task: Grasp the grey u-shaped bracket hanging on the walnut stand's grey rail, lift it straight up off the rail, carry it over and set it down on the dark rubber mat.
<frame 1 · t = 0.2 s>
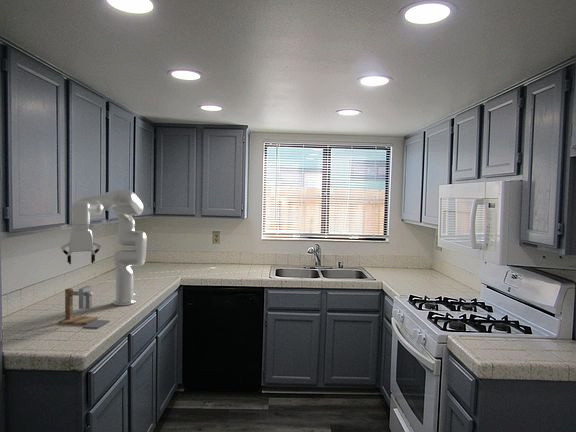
hand: (81, 263, 202), 30 cm above the worktop, tool pointing down, fingers open, 9 cm apart
grey u-shaped bracket: (88, 308, 211), point 6 cm above the worktop, touching hook stand
hook stand: (78, 321, 209), on the worktop
rubber mat: (96, 324, 204), on the worktop
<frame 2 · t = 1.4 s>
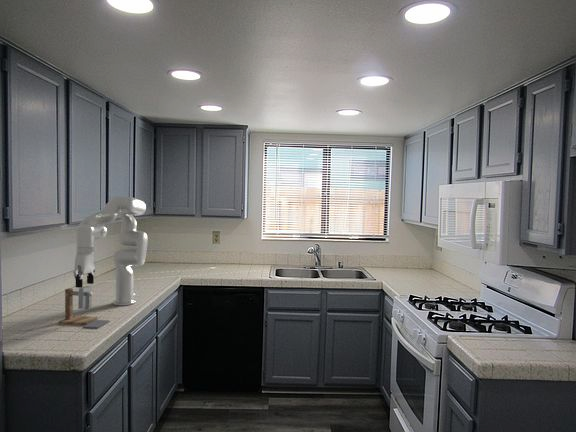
hand: (84, 285, 207), 18 cm above the worktop, tool pointing down, fingers open, 9 cm apart
nothing on the worktop moved.
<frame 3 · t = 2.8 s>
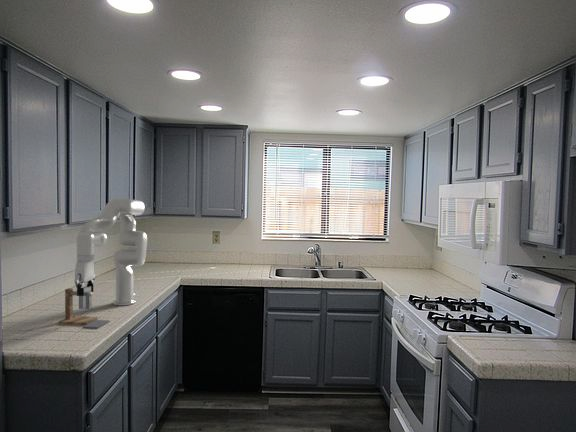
hand: (85, 293, 208), 14 cm above the worktop, tool pointing down, fingers closed on grey u-shaped bracket, 7 cm apart
grey u-shaped bracket: (88, 308, 211), point 6 cm above the worktop, touching gripper, hook stand
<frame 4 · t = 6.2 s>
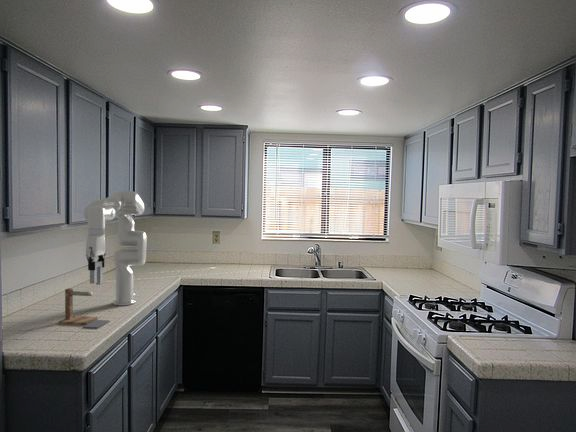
hand: (96, 268, 203), 27 cm above the worktop, tool pointing down, fingers closed on grey u-shaped bracket, 7 cm apart
grey u-shaped bracket: (99, 284, 206), point 19 cm above the worktop, touching gripper
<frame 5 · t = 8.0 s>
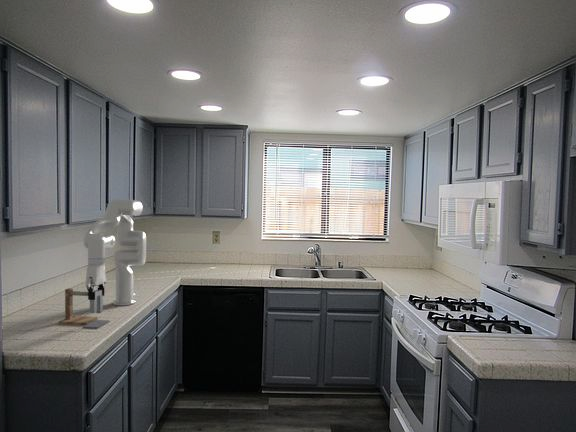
hand: (96, 297, 203), 13 cm above the worktop, tool pointing down, fingers closed on grey u-shaped bracket, 7 cm apart
grey u-shaped bracket: (99, 312, 206), point 5 cm above the worktop, touching gripper
when the fingers open (10 cm above the worktop, at t = 9.7 s): grey u-shaped bracket drops 1 cm, resting on rubber mat.
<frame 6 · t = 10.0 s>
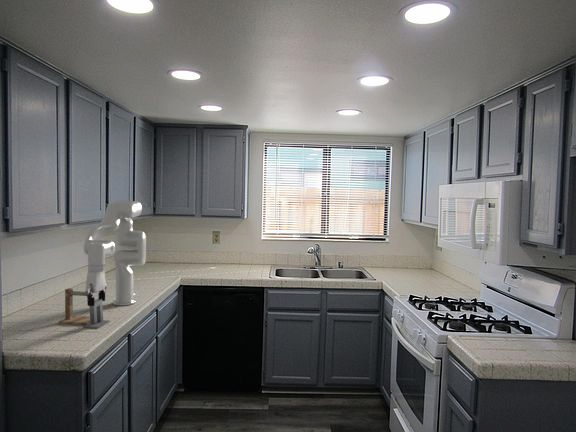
hand: (96, 303, 204), 11 cm above the worktop, tool pointing down, fingers open, 9 cm apart
grey u-shaped bracket: (99, 321, 207), point 1 cm above the worktop, tilted 5°, touching gripper, rubber mat
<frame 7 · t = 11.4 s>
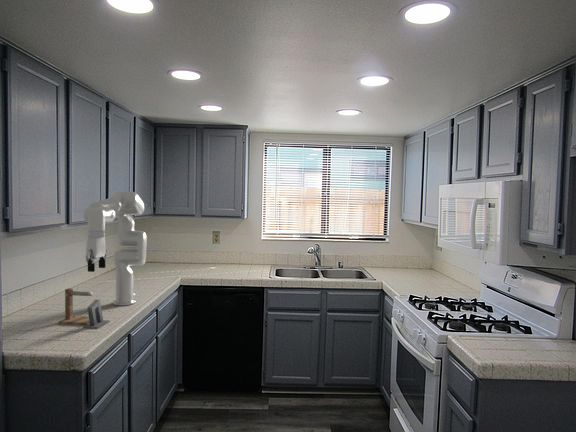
hand: (96, 269, 203), 27 cm above the worktop, tool pointing down, fingers open, 9 cm apart
grey u-shaped bracket: (99, 321, 207), point 1 cm above the worktop, tilted 16°, touching rubber mat
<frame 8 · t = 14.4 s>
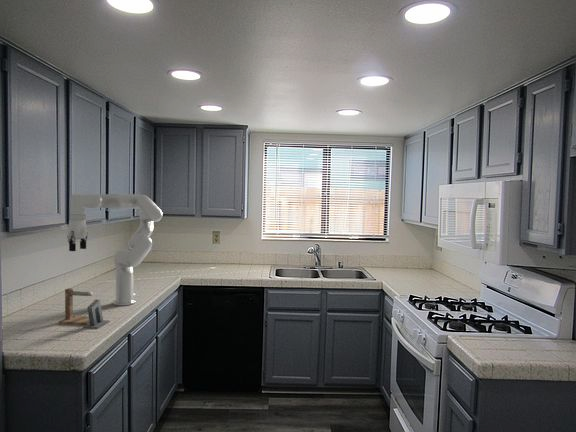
hand: (77, 249, 224), 33 cm above the worktop, tool pointing down, fingers open, 9 cm apart
nothing on the worktop moved.
at the end: grey u-shaped bracket inside the target area (2.0 cm from its centre), point 0.9 cm above the worktop; grey u-shaped bracket touching rubber mat; the gripper is holding nothing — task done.
